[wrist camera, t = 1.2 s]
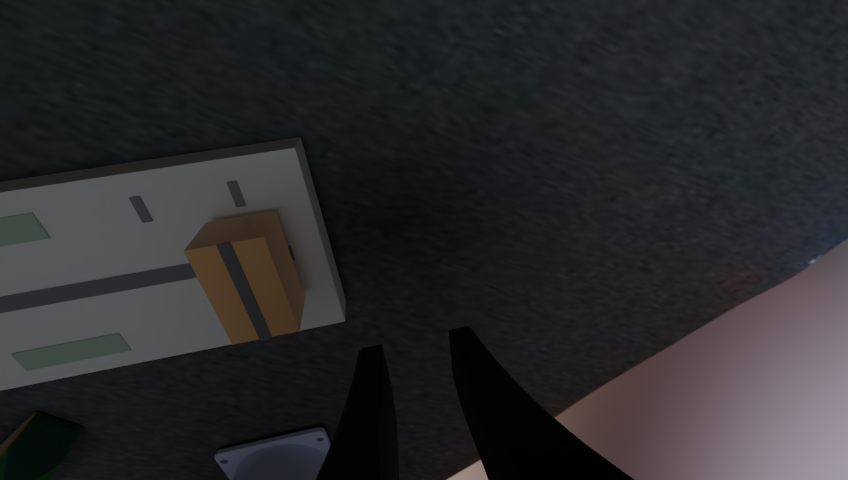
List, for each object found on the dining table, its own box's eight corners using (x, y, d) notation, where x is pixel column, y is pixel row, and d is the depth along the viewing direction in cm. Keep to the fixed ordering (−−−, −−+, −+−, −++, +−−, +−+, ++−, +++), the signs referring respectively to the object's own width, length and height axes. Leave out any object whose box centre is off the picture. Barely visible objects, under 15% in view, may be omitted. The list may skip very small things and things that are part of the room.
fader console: (345, 299, 22) (345, 322, 20) (-50, 376, 20) (-90, 409, 18) (300, 137, 17) (294, 148, 16) (-231, 216, 15) (-310, 240, 13)
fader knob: (305, 298, 19) (299, 333, 17) (246, 309, 18) (231, 347, 16) (275, 209, 16) (263, 237, 14) (205, 221, 16) (181, 251, 14)
